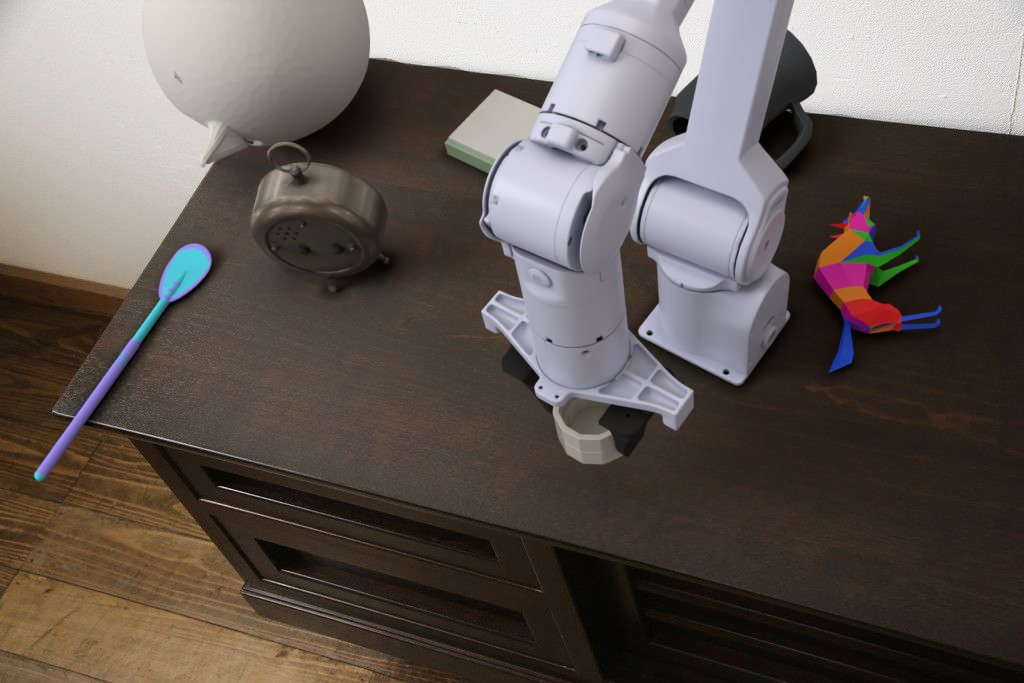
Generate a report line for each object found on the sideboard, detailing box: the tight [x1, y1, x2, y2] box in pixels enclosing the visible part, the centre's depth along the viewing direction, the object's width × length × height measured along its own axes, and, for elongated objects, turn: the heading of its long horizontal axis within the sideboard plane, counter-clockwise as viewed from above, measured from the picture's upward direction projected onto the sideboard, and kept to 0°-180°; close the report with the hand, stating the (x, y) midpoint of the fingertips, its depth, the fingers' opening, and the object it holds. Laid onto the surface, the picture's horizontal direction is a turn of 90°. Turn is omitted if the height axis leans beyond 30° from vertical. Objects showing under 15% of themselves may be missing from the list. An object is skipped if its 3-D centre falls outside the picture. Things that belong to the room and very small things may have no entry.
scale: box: [444, 89, 542, 174], centre depth 100 cm, size 11×8×2 cm
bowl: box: [552, 398, 623, 465], centre depth 73 cm, size 5×5×4 cm
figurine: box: [813, 195, 943, 374], centre depth 85 cm, size 4×15×9 cm
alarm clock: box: [249, 141, 390, 293], centre depth 89 cm, size 11×5×16 cm, turn 84°
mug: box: [667, 29, 818, 172], centre depth 94 cm, size 12×9×11 cm
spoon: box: [33, 242, 213, 482], centre depth 93 cm, size 25×4×1 cm, turn 156°
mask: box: [141, 0, 371, 168], centre depth 100 cm, size 22×18×20 cm
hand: (595, 423), depth 74 cm, fingers closed on bowl, 5 cm apart
